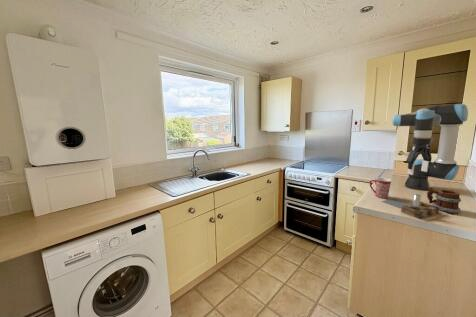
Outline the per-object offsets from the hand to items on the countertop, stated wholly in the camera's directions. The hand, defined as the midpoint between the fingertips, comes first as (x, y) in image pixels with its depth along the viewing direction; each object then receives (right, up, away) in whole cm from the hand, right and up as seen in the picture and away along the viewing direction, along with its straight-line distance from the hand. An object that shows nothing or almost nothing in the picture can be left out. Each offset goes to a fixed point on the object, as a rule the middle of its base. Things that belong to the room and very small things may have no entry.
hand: (417, 172), depth 118 cm
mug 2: (+18, -23, +3) cm, 29 cm away
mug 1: (-5, -19, +25) cm, 32 cm away
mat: (-2, -21, +12) cm, 25 cm away
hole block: (0, -24, -2) cm, 24 cm away
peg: (-4, -24, -3) cm, 25 cm away
